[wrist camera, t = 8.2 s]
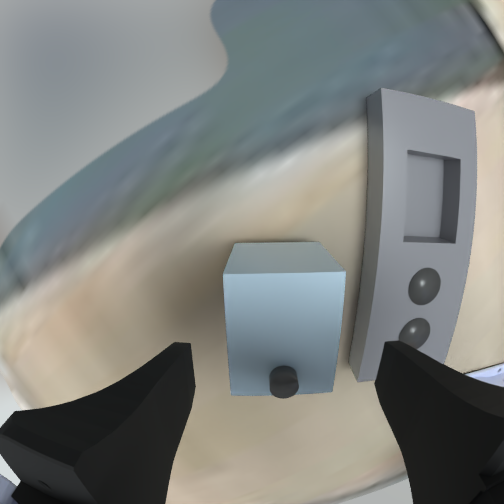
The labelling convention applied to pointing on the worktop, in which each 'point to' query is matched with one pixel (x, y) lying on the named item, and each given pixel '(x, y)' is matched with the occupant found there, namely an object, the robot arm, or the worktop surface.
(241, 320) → the block
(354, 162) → the worktop surface
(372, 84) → the worktop surface
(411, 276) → the grey control panel
